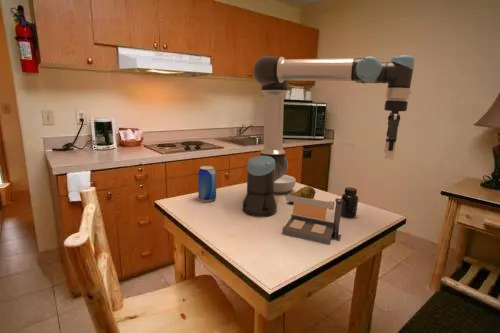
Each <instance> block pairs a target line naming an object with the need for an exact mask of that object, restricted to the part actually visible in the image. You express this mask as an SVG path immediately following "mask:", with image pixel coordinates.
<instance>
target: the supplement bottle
mask: <svg viewBox="0 0 500 333" xmlns="http://www.w3.org/2000/svg"><path fill="white" fill-rule="evenodd" d="M357 194H358V189H357V188H355V187H352V186H351V187H349V186H348V187H347V186H346V187H345V188H344V193H342V195H341V198H340V199H343V202H342V207H341V216H342V217H343V218H347V219H353V218H356V216H357V212H358V204H359V196H358V195H357ZM341 216H340V217H341Z"/></svg>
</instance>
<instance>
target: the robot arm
mask: <svg viewBox="0 0 500 333" xmlns="http://www.w3.org/2000/svg"><path fill="white" fill-rule="evenodd" d="M414 65H415V57H414V56H413V55H406V54H403V55H402V54H401V55H394V56H392V57H391V60H390V61H386V62H381V61H380V60H379V59H378V57H374V56H365V57H357V58H355V57H349V58H348V57H346V58H345V57H344V58H343V57H342V58H341V57H340V58H303V59H302V58H297V59H295V58H294V59H293V58H291V59H290V58H289V59H286V58H285V56H271V55H264V56H261V57H259V58H258V59H257V60H256V61H255V63H254V65H253V69H252V72H253V73H252V74H253V77H254V79H255V80H256V82H257V83H258V84H260V88H261V90H260V91H261V92H262V94H263V95H264V104H263V105H264V106H263V107H264V109H263V111H264V112H263V114H264V115H263V116H264V121H263V122H264V123H263V148H262V149H261V150H260V155H257V156H252V157H251V158H249V159H248V162H247V167H246V170H247V171H246V174H247V175H246V194H245V198H244V200H243V202H242V208H241V210H242V212H243V213H244V214H246V215H249V216H251V217H257V218H258V217H261V218H262V217H271V216H273V215H275V214H276V213H277V210H278V207H277V206H278V205H277V202H276V199H275V192H274V181H276V180H277V179H279V178H281V177H282V176H283V175H286V173H287V170H288V167H289V163H288V162H289V161H288V160H287V158H286V151H285V150H284V149H283V143H284V142H283V140H284V138H283V136H284V106H285V105H284V104H285V103H284V101H285V94H286V93H287V92H288V91H289V90H288V87H289V85H288V84H289V83H290V81H305V82H306V81H315V82H316V81H319V82H320V81H321V82H322V81H323V82H324V81H325V82H326V81H328V82H329V81H331V82H335V81H336V82H339V81H341V82H345V81H346V82H355V83H357V84H363V85H365V84H387V88H386V95H385V99H387V100H386V101H385V103H384V111H389V112H390V113H389V115H388V117H387V132H386V136H385V137H386V138H385V144H384V150H383V153H384V154H385V155H384V160H391V161H393V160H394V157H395V156H394V155H395V149H396V143H397V140H398V139H397V137H398V129H399V126H400V121H401V115H400V113H399V112H406V111H407V110H408V103H409V102H408V100H409V96H410V94H412V91H410V90H411V86H412V84H411V83H412V81H413V80H412V79H413V75H414Z"/></svg>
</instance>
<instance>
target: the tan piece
mask: <svg viewBox="0 0 500 333" xmlns="http://www.w3.org/2000/svg"><path fill="white" fill-rule="evenodd" d="M285 201H286V202H289V201H291V202H294V203H292V204H293V205H292V206H293V207H292V214H293V215H298V216H303V217H308V218H313V219H319V220H324V221H327V220H326V219H327V218H326V216H327V209H329V210H335V202H334V201H328V200H320V199H315V198H313V199H309V198H303V197H297V196H291V195H290V194H287V195H286V196H285Z"/></svg>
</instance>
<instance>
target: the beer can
mask: <svg viewBox="0 0 500 333" xmlns="http://www.w3.org/2000/svg"><path fill="white" fill-rule="evenodd" d="M197 176H198V177H197V178H198V180H197V182H198V183H197V186H198V187H197V188H198V190H197V191H198V199H199V200H200V202H201V203H213V202H214V201H215V200H216V199H217V171H216V169H215V167H214V166H212V165H203V166H200V167H199V170H198V172H197Z"/></svg>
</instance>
